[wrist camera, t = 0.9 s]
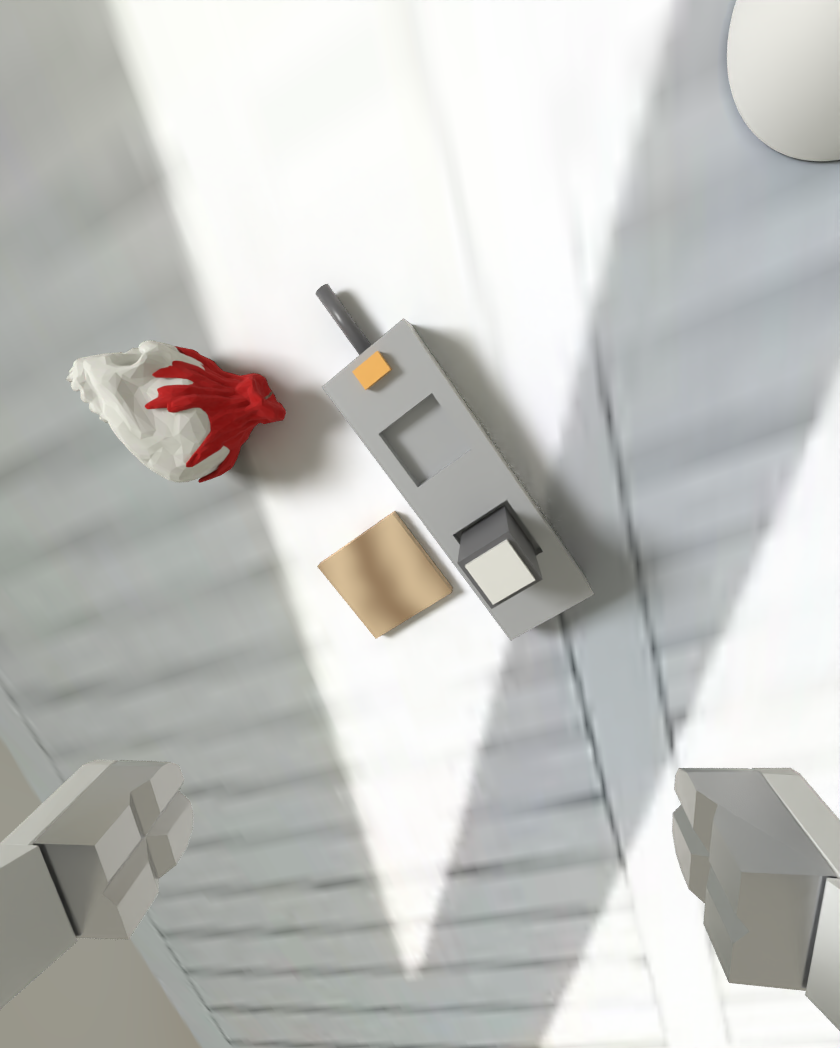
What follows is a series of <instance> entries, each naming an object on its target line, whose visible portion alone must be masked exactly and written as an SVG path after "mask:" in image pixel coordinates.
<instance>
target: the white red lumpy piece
mask: <svg viewBox="0 0 840 1048" xmlns="http://www.w3.org/2000/svg"><path fill="white" fill-rule="evenodd" d="M69 373H70V375H69V376H68V377H67V379H66V380H67V381H69V382H72V383H71V387H72V389H73V390H74V391H81V399H82V400H83V402H85V403H89V404H90V405H89V409H90V410H91V411H92V412H93V413H97V414H99V415H100V420H102V421H104V422H105V423H109V425H110V427H111V429H112V430H113V431H114V433H115V434H116V435H117V437H118V438H119V439H120V440H121V441H122V443H123V444H124V445H125V446H126V447H127V448H128V449H129V450H130V452H131V453H132V454H133V455H135V456H136V457H137V458H138V459H139V460H140V462H141V463H143V464H144V465H145V466H147V467H148V468H149V469H151V470H152V471H154V472H155V473H157V474H159V475H160V476H162V477H164V478H166V479H168V480H170V481H174V482H188V481H192V480H195V479H198V478H200V479H199V483H200V482H203V481H206V480H209V479H213V478H215V477H217V476H220V475H222V474H224V473H225V472H227V471H228V470H230V469H231V468H232V467H233V465H234V464H235V462H236V460H237V457H238V454H239V452H240V448H241V446H242V445H243V443H244V442H245V441H246V440H247V439H248V438H249V435H250V433H251V431H252V430H253V428H254V427H255V426H256V425H257V424H259V423H262V424H267V423H272V422H276V421H282V420H284V418H285V414H286V410H285V409H284V408H283V406H282V404H281V403H279V402H277V400H276V397H275V395H274V394H273V392H272V391H271V389H270V388H269V386H268V383H267V380H266V379H265V377H263V376H262V375H260V374H256V373H252V374H247V375H241V376H240V375H236V374H232V373H228V372H225V371H223V370H222V369H221V368H219V367H218V366H217V365H216V363H215V362H214V361H212V360H211V359H208V358H206V357H204V356H202V355H200V354H199V353H198V352H197V351H195V350H192V349H186V348H181V347H176V346H172V345H169V344H165V343H161V342H156V341H150V340H148V341H144V342H142V343H141V344H140V345H139V348H133V349H131V350H129V351H128V352H126V353H122V352H119V353H106V354H99V355H94V356H89V357H83V358H79V359H77V360H76V361H75V362H74V363H73V367H72V368H71V369H70V371H69ZM201 477H202V478H201Z"/></svg>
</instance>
